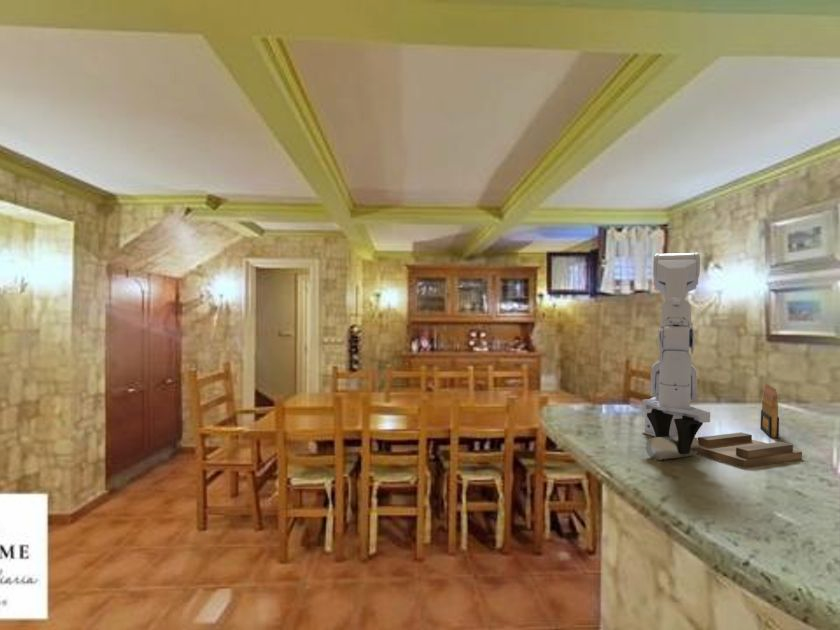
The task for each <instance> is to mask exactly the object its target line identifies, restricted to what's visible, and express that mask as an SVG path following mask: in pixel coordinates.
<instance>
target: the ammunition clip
mask: <svg viewBox="0 0 840 630" xmlns="http://www.w3.org/2000/svg"><path fill="white" fill-rule="evenodd" d="M759 429H760V430H761V431H762V432H763V433H764V434H765V435H766V436H767V437H769V438H770V439H779V438H780V437H779V435H780V417H779V403H778V393H777V389H776V388H774V387H772V386H771V385H770V384H767V383H765V385H764V387H763V394H762V401H761V409H760V428H759ZM769 438H768V439H769Z"/></svg>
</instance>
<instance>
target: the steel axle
mask: <svg viewBox="0 0 840 630" xmlns="http://www.w3.org/2000/svg"><path fill="white" fill-rule="evenodd" d="M695 437H696V436H695ZM695 437H694V439H693V442H692V445H691V448H690V451H689V454H679V451H678V435H674V436H665V437H655V436H654V437H650V438H648V440H647V441H646V443H645V450H646V451H645V452H646V453H647V455H648V456H649V458H651V459H652V458H653V459H652V460H654V459H656V460H655V461H663V459H664V460H670V459H678V458H685V457H692V456H696V455H698V454H697V453H698V451H699V443H698V439H696V438H695Z"/></svg>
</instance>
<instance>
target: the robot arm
mask: <svg viewBox="0 0 840 630" xmlns="http://www.w3.org/2000/svg"><path fill="white" fill-rule="evenodd" d="M700 270H701V255H700V253H698V252H689V253H688V252H687V253H686V252H685V253H682V252H681V253H655V255H653V267H652V271H653V272H652V274H653V275H652V276H653V285H654V289H655V290H656V291H657V290H658V291H660V292H661V293H662V295H663V298H664V302H663V303H662V304H661V307H660V309H661V312H660V316H661V317H660V328H658V335H657V349H658V357H659V358H658V359H659V360H658V361H657V362H655V363H653V365H652V366H651V372H650V386H649V387H650V395H651V396H652V397H651V398H648V399H647V398H646V399H642V402H641V403H642V406H641V407H642V409H643V410H644V430H641V433H642V434H645V435H649V436H652V437H654V438H655V437H665V436H674V435H678V451H679V454H689V451H690V448H691V445H692V442H693V439H694V437H695V438H696V439H697V440H698V436H696V435H697V433H698V431H699V430H700V429H701V427H702V426H703V423H710V422H711V412H710V411H707V410H704V409H700V408H697V407H694V406H691V401H695V400H696V399H697V397H698V376H697V369H696V367H695V366H694V365H693V364H692V355H693V354H694V350H695V330H694V325H693V322H692V306H691V303H690V302H689V301H687V295H688V293H689V292H691V291H694V290H696V289H697V285H699V277H700V272H701V271H700ZM690 351H691V354H690Z"/></svg>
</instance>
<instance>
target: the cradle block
mask: <svg viewBox="0 0 840 630" xmlns="http://www.w3.org/2000/svg"><path fill="white" fill-rule="evenodd" d="M697 437H698V436H697ZM697 440H698V443H699V451H698V453H697V454H696V455H699V454H700V456H702V455H703V457H706V458H710V459H713V460H717V461H718V462H719V461H720V462H722V463H726V464H730V465H733V466H735V467H739V468H742V469H747V468H753V467H759V466H766V465H773V464H778V463H785V462H791V461H798V460H802V459H803V451H800V450H797V449H794V444H792V443H787V442H784V441H777V442H776V441H775V442H769V443H768V442H763V441H760V440H755V439H753V435H752V434H749V433H745V432H732V433H725V434H716V435H707V436H706V435H704V436H699V437H698V439H697Z"/></svg>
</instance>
